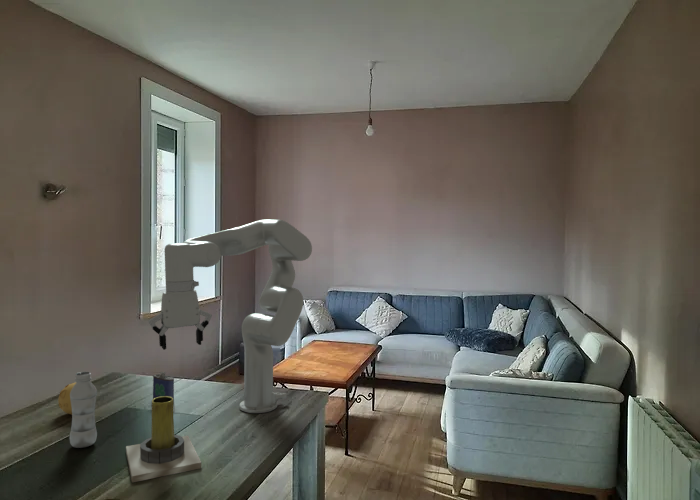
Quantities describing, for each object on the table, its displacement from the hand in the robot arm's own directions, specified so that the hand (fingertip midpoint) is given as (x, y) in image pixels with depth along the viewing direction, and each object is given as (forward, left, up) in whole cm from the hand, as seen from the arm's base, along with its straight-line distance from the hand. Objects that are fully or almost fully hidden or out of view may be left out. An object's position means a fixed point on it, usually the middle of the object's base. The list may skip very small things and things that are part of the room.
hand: (181, 346), depth 143 cm
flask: (+1, -31, -26) cm, 41 cm away
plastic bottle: (+25, -5, -26) cm, 37 cm away
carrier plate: (+7, +13, -26) cm, 30 cm away
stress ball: (+27, -32, -26) cm, 49 cm away
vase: (+7, +13, -25) cm, 29 cm away
